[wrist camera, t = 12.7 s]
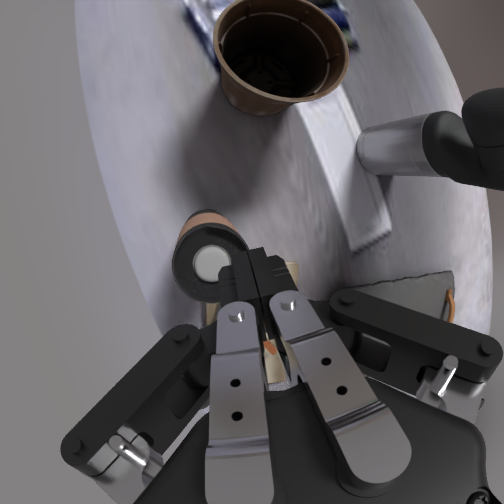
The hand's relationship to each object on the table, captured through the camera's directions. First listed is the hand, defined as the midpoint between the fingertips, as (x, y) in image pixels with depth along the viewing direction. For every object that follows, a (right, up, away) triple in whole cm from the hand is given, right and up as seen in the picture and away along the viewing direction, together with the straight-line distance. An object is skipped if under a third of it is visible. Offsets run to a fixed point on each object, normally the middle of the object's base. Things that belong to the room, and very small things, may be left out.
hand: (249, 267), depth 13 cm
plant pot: (+1, +28, +28) cm, 40 cm away
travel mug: (-7, +4, +32) cm, 33 cm away
